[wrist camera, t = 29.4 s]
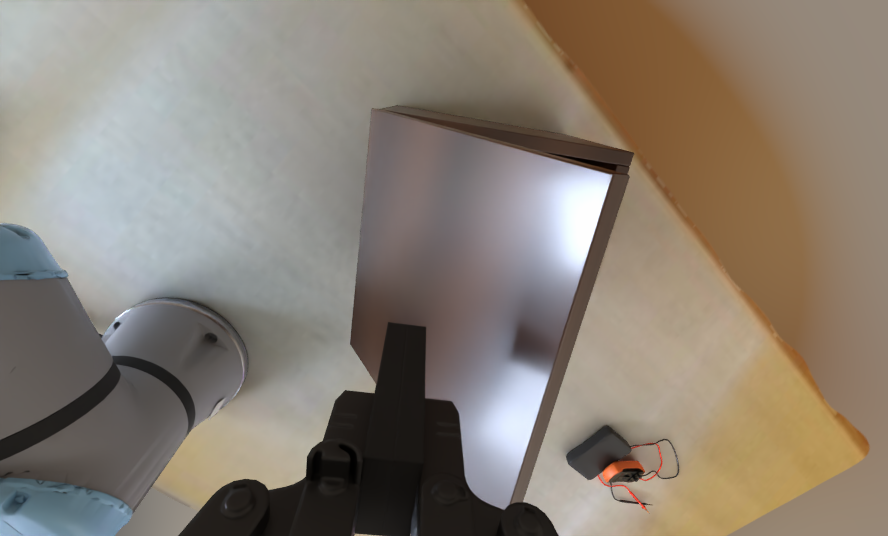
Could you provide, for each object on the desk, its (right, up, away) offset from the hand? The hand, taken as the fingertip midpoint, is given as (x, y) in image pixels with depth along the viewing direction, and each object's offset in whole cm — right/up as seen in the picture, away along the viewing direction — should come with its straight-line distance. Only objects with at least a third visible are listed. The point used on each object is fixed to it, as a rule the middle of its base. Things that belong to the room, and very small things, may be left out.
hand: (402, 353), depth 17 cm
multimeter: (+28, -24, +42) cm, 56 cm away
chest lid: (+1, +2, +5) cm, 6 cm away
